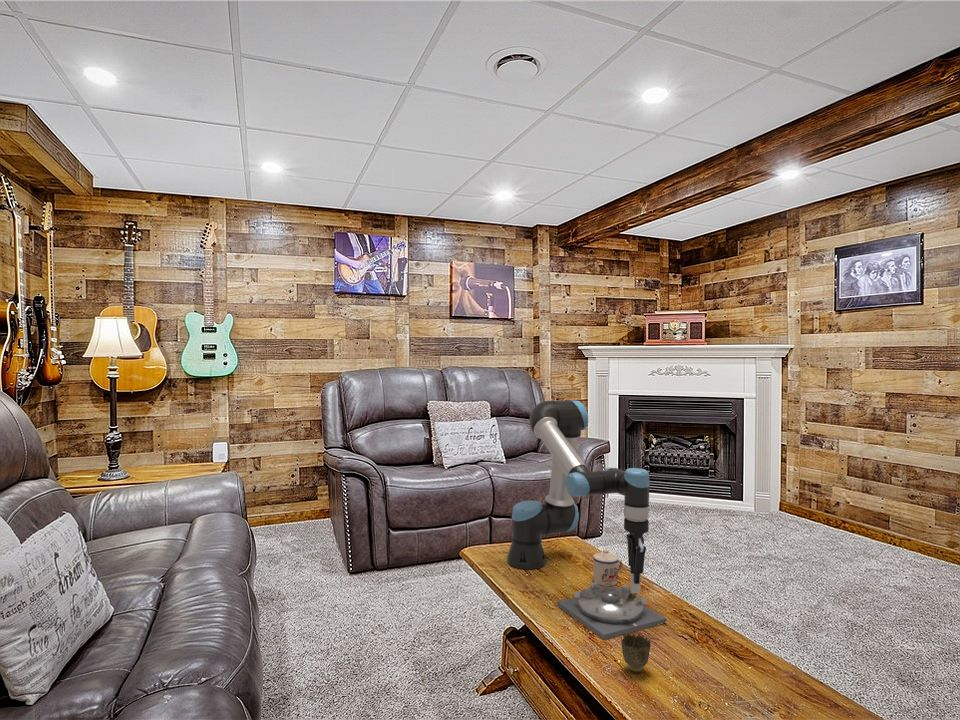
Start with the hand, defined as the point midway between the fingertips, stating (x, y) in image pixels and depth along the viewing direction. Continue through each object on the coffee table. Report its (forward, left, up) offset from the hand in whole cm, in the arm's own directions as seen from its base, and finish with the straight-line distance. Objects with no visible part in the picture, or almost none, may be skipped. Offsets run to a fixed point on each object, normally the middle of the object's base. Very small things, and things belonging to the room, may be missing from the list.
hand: (635, 592), depth 179 cm
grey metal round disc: (-3, -7, -5) cm, 10 cm away
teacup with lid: (-24, +9, -7) cm, 27 cm away
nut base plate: (-3, -7, -7) cm, 11 cm away
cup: (+25, -22, -7) cm, 34 cm away
